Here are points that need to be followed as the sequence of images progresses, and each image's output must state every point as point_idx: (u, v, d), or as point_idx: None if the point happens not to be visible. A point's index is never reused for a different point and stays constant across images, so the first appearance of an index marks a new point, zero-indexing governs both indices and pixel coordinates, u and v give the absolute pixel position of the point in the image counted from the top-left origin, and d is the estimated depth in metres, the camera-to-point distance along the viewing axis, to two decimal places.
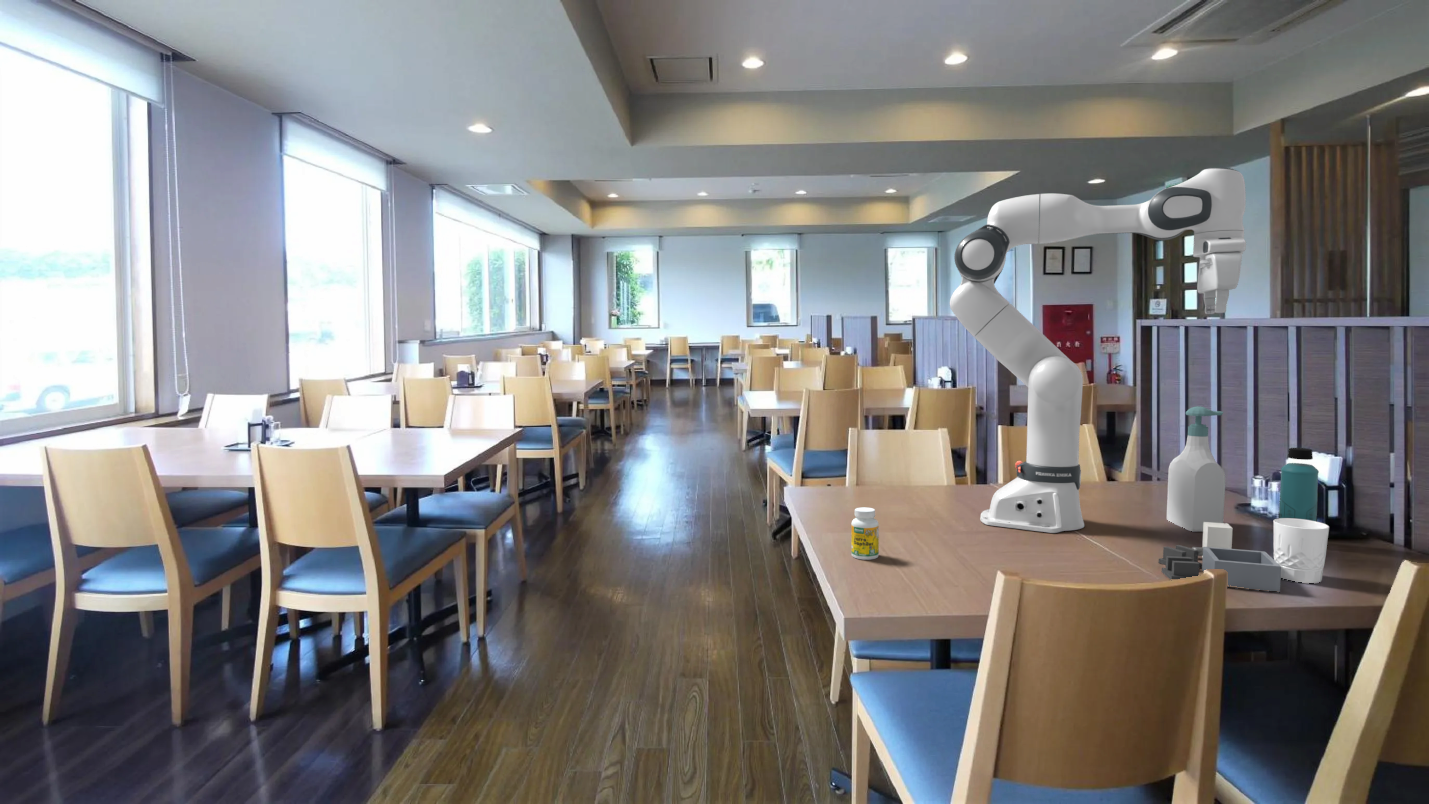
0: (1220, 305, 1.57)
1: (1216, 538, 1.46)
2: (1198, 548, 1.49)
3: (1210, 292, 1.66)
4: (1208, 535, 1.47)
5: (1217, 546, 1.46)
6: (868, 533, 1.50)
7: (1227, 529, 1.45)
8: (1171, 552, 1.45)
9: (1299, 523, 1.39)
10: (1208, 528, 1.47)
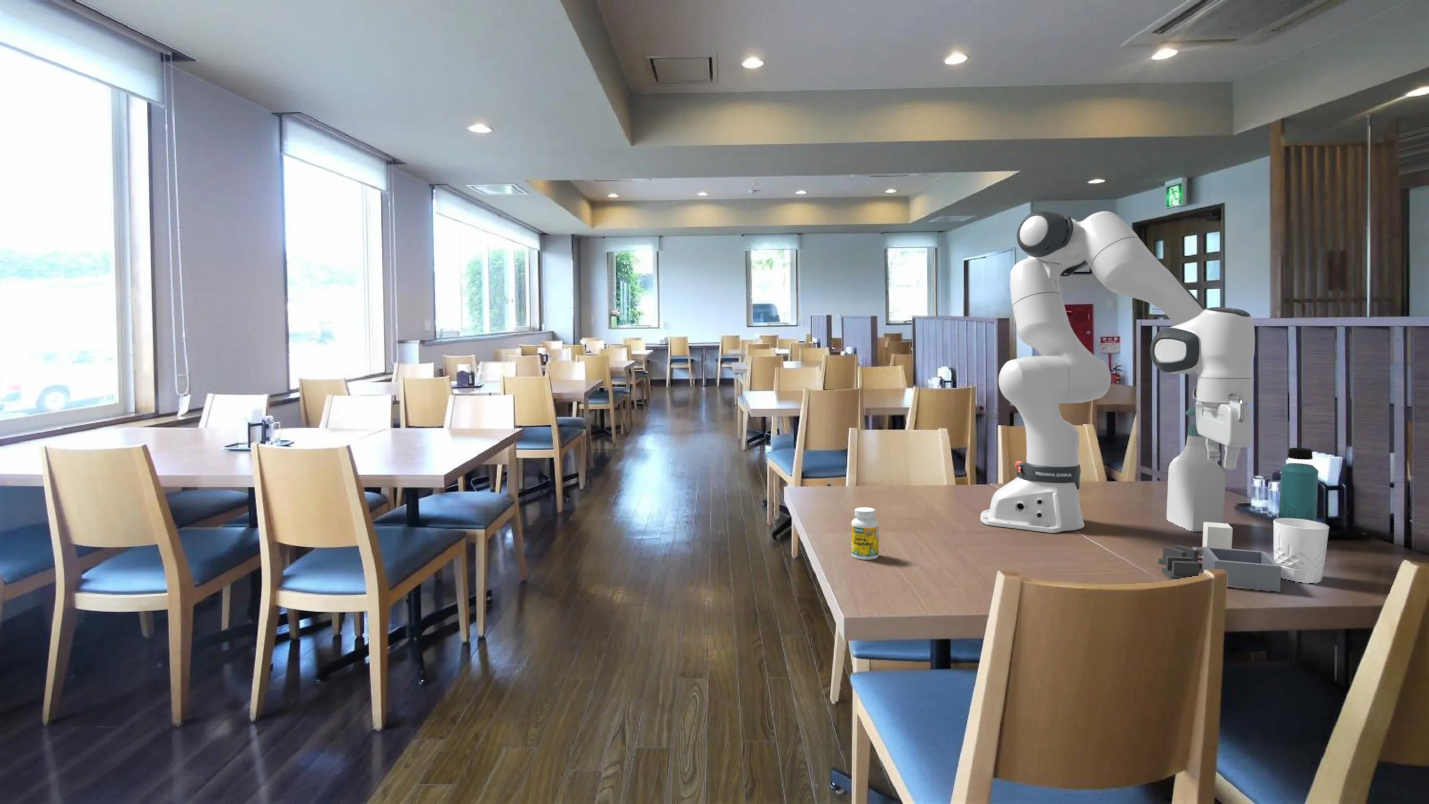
0: None
1: (1216, 538, 1.46)
2: (1198, 548, 1.49)
3: None
4: (1208, 535, 1.47)
5: (1217, 546, 1.46)
6: (868, 533, 1.50)
7: (1227, 529, 1.45)
8: (1171, 552, 1.45)
9: (1299, 523, 1.39)
10: (1208, 528, 1.47)
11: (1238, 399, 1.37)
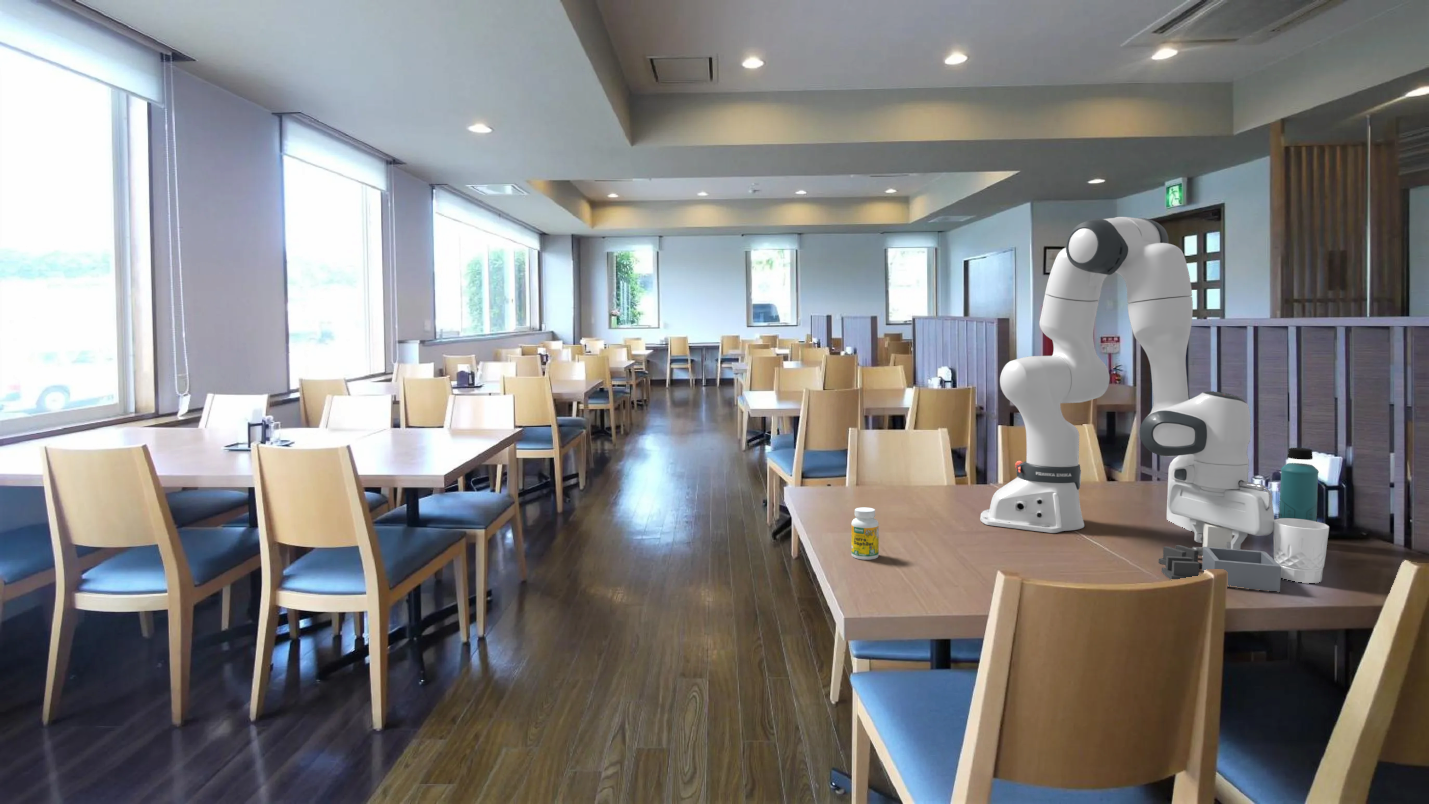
0: None
1: (1216, 538, 1.46)
2: (1198, 548, 1.49)
3: None
4: (1208, 535, 1.47)
5: (1217, 546, 1.46)
6: (868, 533, 1.50)
7: (1227, 529, 1.45)
8: (1171, 552, 1.45)
9: (1299, 523, 1.39)
10: (1208, 528, 1.47)
11: (1262, 488, 1.38)
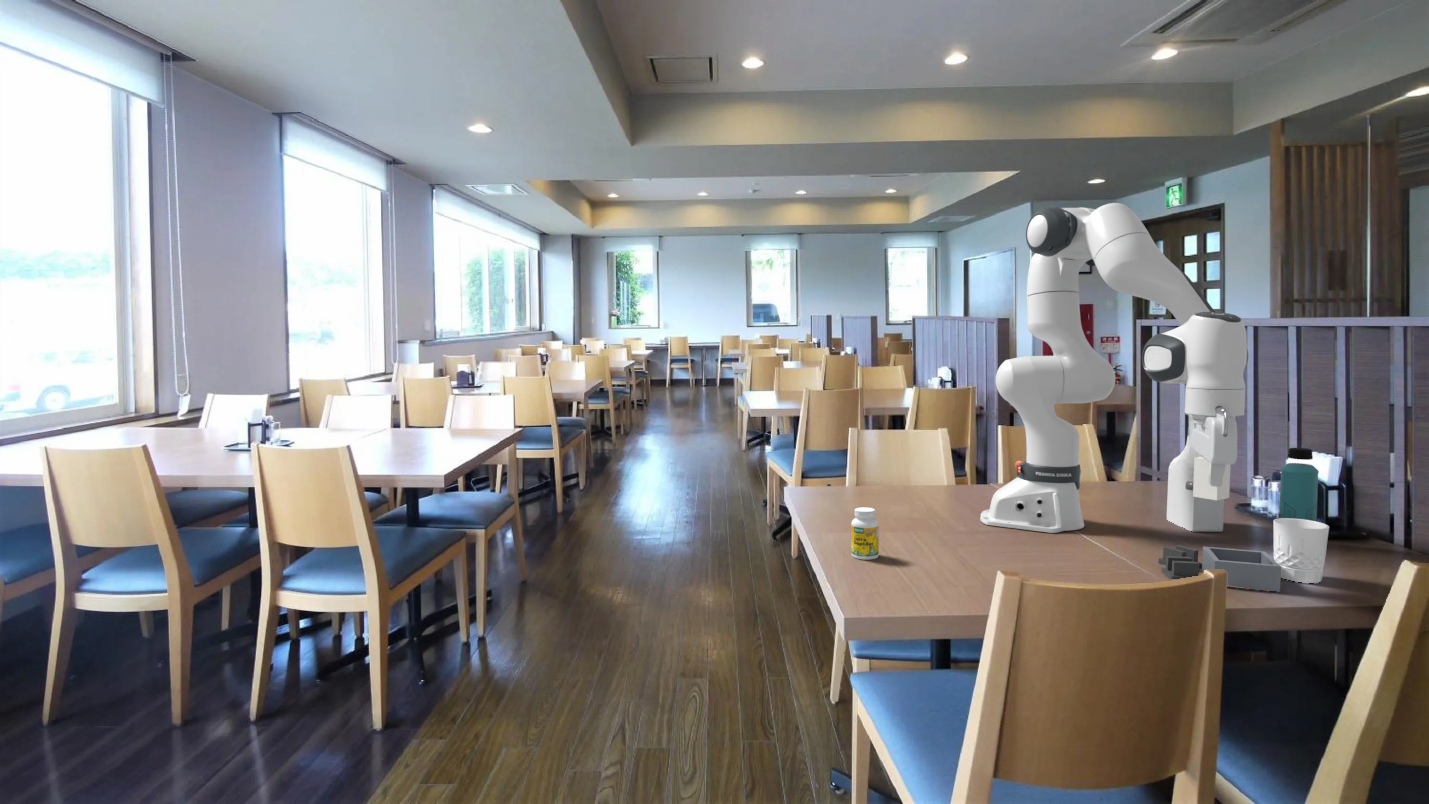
0: None
1: (1202, 470, 1.35)
2: (1192, 482, 1.38)
3: None
4: (1195, 467, 1.36)
5: (1203, 479, 1.35)
6: (868, 533, 1.50)
7: None
8: (1171, 552, 1.45)
9: (1299, 523, 1.39)
10: (1195, 459, 1.36)
11: (1223, 412, 1.26)
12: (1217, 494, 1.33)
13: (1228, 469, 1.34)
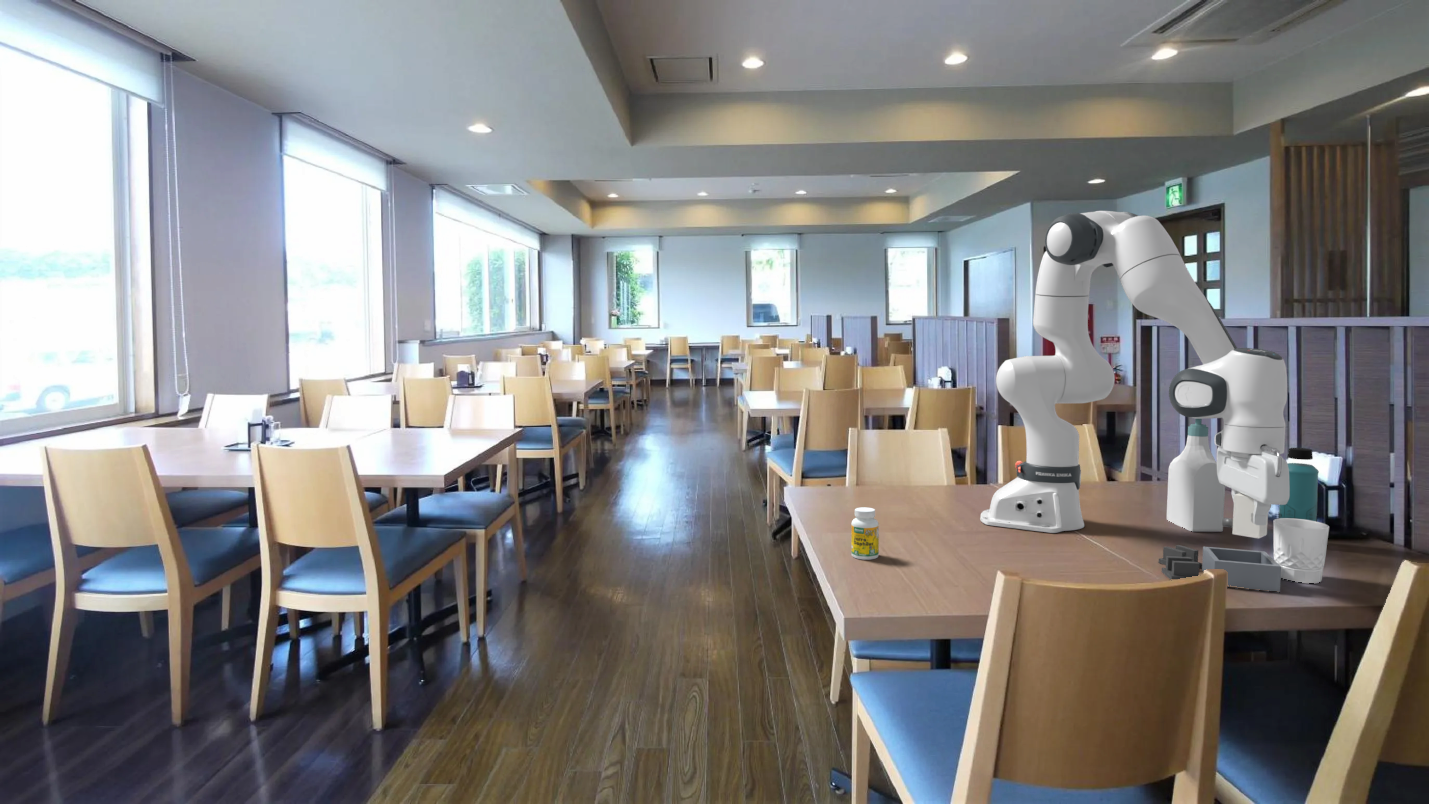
0: None
1: (1243, 508, 1.33)
2: (1229, 519, 1.36)
3: None
4: (1234, 504, 1.34)
5: (1244, 517, 1.33)
6: (868, 533, 1.50)
7: None
8: (1171, 552, 1.45)
9: (1299, 523, 1.39)
10: (1235, 497, 1.34)
11: (1274, 452, 1.25)
12: (1259, 532, 1.32)
13: None
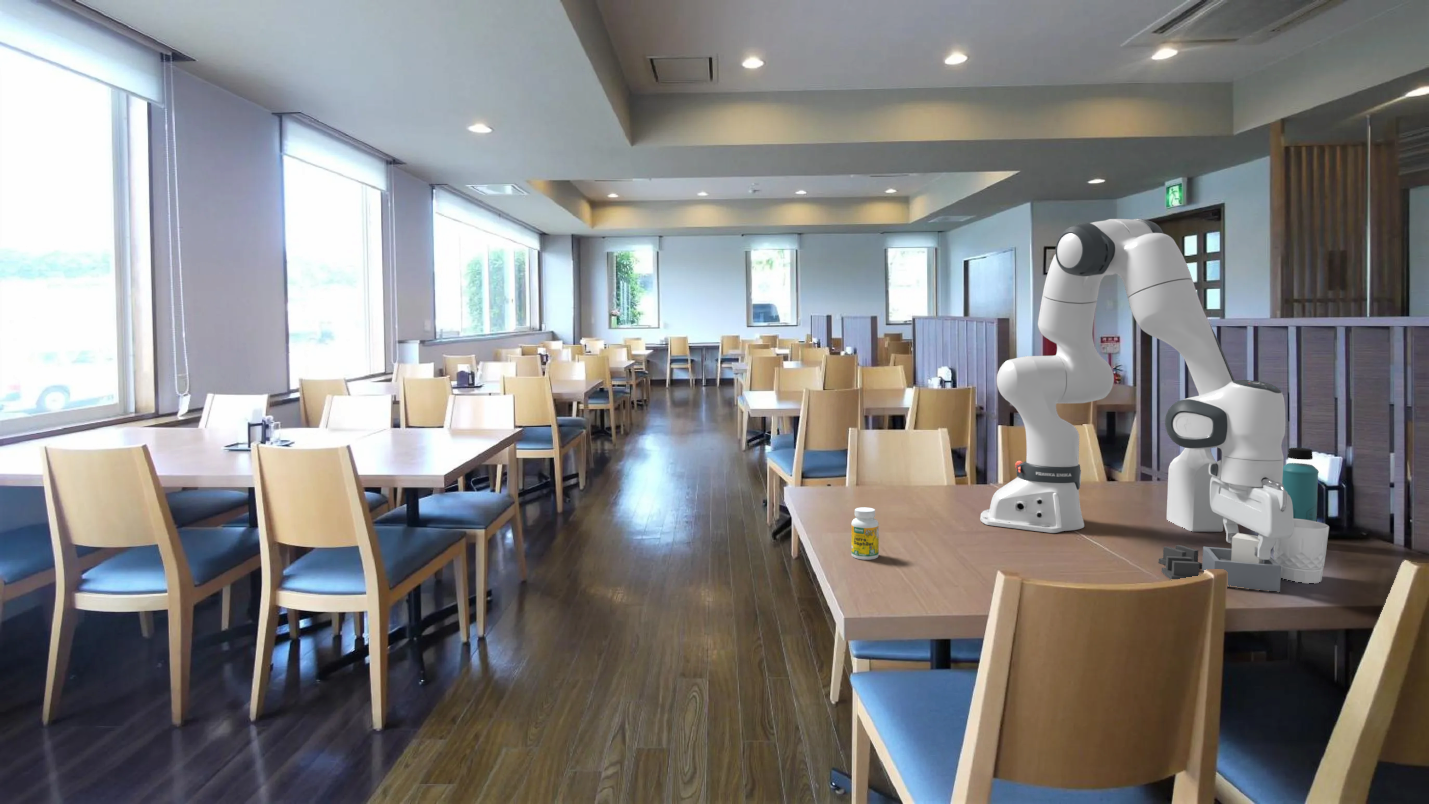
0: None
1: (1241, 551, 1.34)
2: (1225, 560, 1.37)
3: None
4: (1232, 547, 1.35)
5: (1242, 559, 1.34)
6: (868, 533, 1.50)
7: (1254, 542, 1.33)
8: (1171, 552, 1.45)
9: (1299, 523, 1.39)
10: (1233, 539, 1.35)
11: (1278, 486, 1.25)
12: None
13: None
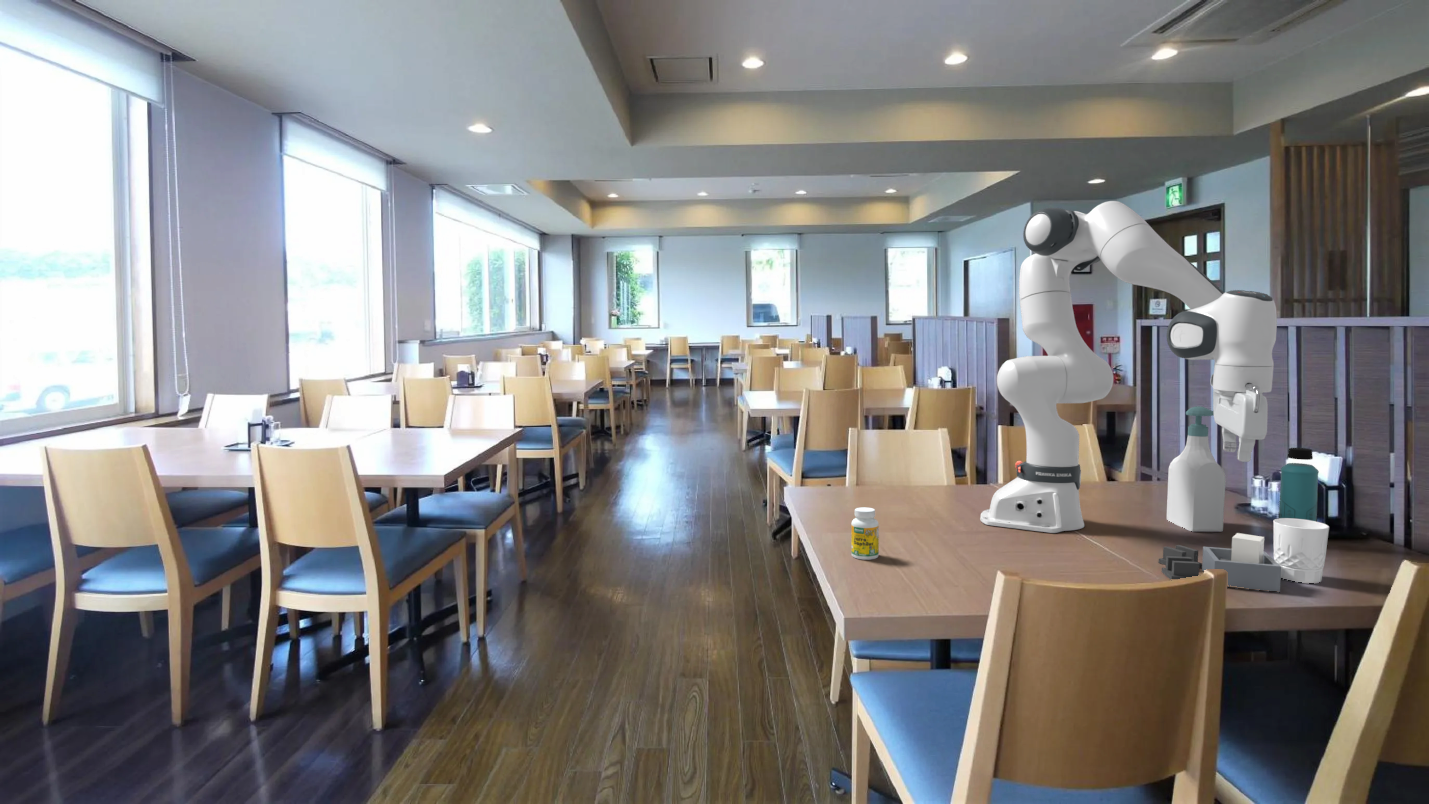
0: None
1: (1241, 551, 1.34)
2: (1225, 560, 1.37)
3: None
4: (1232, 547, 1.35)
5: (1242, 559, 1.34)
6: (868, 533, 1.50)
7: (1254, 542, 1.33)
8: (1171, 552, 1.45)
9: (1299, 523, 1.39)
10: (1233, 539, 1.35)
11: (1254, 389, 1.30)
12: None
13: (1263, 548, 1.35)
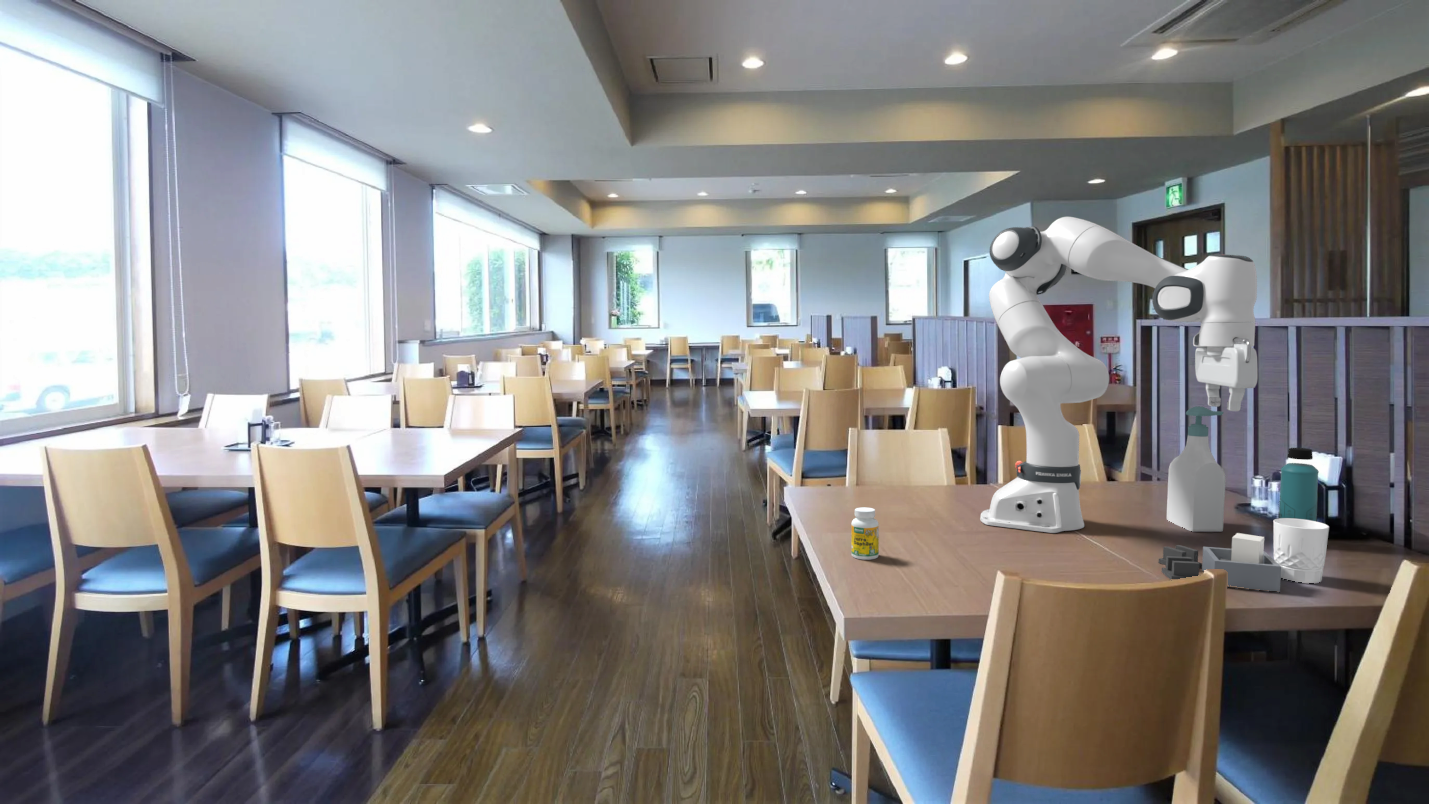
0: None
1: (1241, 551, 1.34)
2: (1225, 560, 1.37)
3: None
4: (1232, 547, 1.35)
5: (1242, 559, 1.34)
6: (868, 533, 1.50)
7: (1254, 542, 1.33)
8: (1171, 552, 1.45)
9: (1299, 523, 1.39)
10: (1233, 539, 1.35)
11: (1244, 341, 1.40)
12: None
13: (1263, 548, 1.35)
